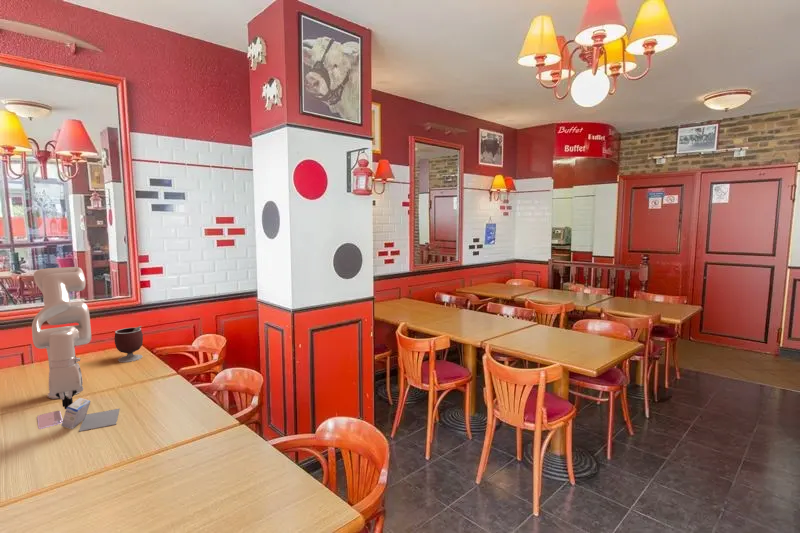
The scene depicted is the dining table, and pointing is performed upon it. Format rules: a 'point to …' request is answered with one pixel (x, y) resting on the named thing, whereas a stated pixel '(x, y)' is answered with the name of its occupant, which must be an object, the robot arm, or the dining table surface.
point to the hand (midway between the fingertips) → (68, 407)
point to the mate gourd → (129, 343)
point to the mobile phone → (49, 419)
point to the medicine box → (75, 413)
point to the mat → (99, 420)
